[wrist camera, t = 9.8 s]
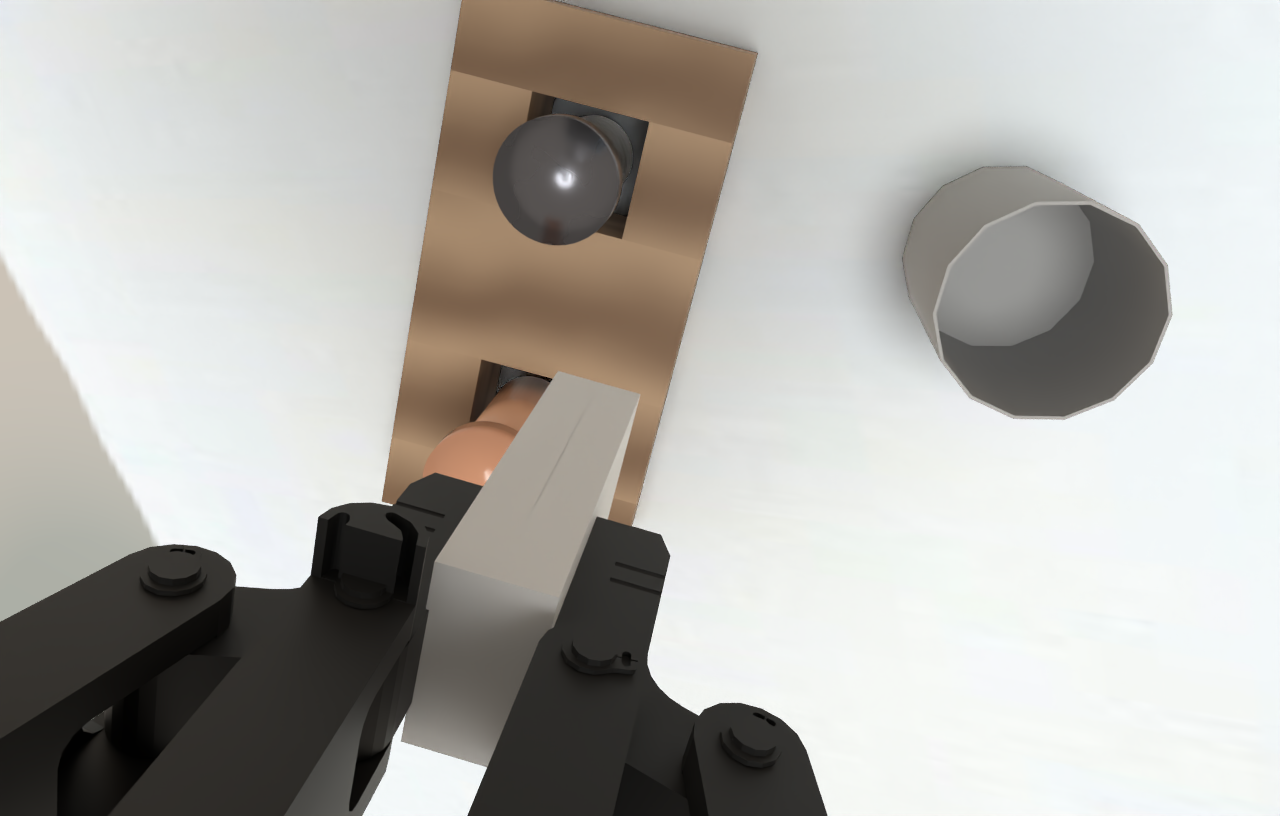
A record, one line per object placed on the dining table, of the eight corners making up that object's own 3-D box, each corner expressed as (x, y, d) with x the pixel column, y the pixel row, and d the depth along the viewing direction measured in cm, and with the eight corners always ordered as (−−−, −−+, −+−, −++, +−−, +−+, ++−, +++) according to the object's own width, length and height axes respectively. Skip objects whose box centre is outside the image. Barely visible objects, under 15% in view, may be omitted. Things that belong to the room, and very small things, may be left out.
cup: (897, 343, 49) (924, 417, 39) (907, 167, 46) (940, 202, 36) (1081, 344, 47) (1155, 421, 38) (1104, 165, 45) (1190, 200, 35)
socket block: (497, -15, 45) (465, -20, 41) (757, 53, 45) (755, 55, 40) (415, 460, 54) (381, 501, 49) (633, 520, 54) (619, 567, 49)
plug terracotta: (491, 352, 48) (432, 418, 39) (590, 379, 47) (551, 450, 39) (473, 443, 49) (414, 524, 41) (568, 469, 49) (527, 555, 41)
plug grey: (554, 89, 45) (505, 101, 37) (657, 116, 45) (631, 134, 37) (533, 193, 47) (482, 227, 39) (632, 220, 47) (602, 259, 39)
